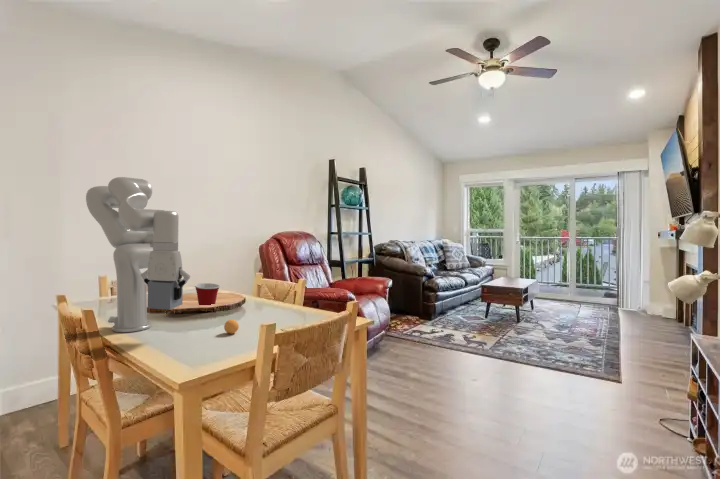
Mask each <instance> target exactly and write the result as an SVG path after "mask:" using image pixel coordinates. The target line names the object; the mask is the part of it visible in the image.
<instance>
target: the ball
mask: <svg viewBox="0 0 720 479" xmlns="http://www.w3.org/2000/svg"><path fill="white" fill-rule="evenodd" d="M223 328H224V331H225V332H226V333H227V334H231V335H232V334H236V332H237V331H238V330H239V328H240V325H239V322H238V321H237V320H236V319H228V320H227V321H225V323H224V326H223Z"/></svg>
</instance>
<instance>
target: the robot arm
mask: <svg viewBox="0 0 720 479" xmlns="http://www.w3.org/2000/svg"><path fill="white" fill-rule="evenodd" d="M152 195H153V186H152V185H151V183H150V182H149V181H148V180H146V179H143V178H135V177H126V176H118V177H114V178H112V179H111V180H110V181H109V182H108V184H107V185H98V186H93V187H90V188H89V189H88V190H87V192H86V194H85V202H86V207H87V209H88V211H89V213H90V215H91V216H92V218H94V220H95V221H96V222H97V223H98V224H99V226H100V227H101V229H102V231H103V233H104V235H105V236H106V238H107V241H108V242H109V244H110V246H112V247H113V248H114V251H113V254H112V255H113V256H112V257H113V261H114V268H115V273H116V307H117V309H116V314H117V315H116V316H109V318H108V321H107V323H109V324H110V323H114V325H113V326H112V328H111V329H112V331H113V332H115V333H131V332H140V331H145V330H147V329H150V328H151V327H152V325H153V324H152V322H151V321H148V282H150V281H164V282H174V285H175V287H176V288H175V289H174V300H178V299H180V298H181V296H182V287H183V288H184V286H185V284H186V283H187V282H188V281H189V279H190V278H191V275H190V274H189V273H187V272H186V271H185V270H183V261H182V255H181V251H179V214H178V212H176V211H174V210H165V209H150V208H149V209H145V208H146V207H147V205H148V203H149V202H148V201H149V200H150V199H151V198H152ZM116 209H118V210H116ZM142 269H143V270H144V269H147V270H144V272H141V270H142ZM182 278H183V280H182V281H181V280H180V279H182ZM177 281H178V282H177Z"/></svg>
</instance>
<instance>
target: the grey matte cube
mask: <svg viewBox="0 0 720 479" xmlns="http://www.w3.org/2000/svg"><path fill="white" fill-rule="evenodd" d="M183 279H184V278H183ZM183 279H182V278H181V279H180V280H181V281H182V280H183ZM177 282H178V281H177ZM175 288H176V287H175V285H174V282H164V281H150V282H148V286H147V309H155V310H157V309H158V310H169V311H170V310H172V309H173V310H174V308H177V307H179V306H182V305H183V297H184V296H183V295H184V294H183V293H184V292H183V290H184V289H183V288H184V286H183V287H182V296H181V298H180V299H178V300H174V289H175Z"/></svg>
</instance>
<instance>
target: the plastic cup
mask: <svg viewBox="0 0 720 479" xmlns="http://www.w3.org/2000/svg"><path fill="white" fill-rule="evenodd" d="M194 287H195V292H196V295H197V297H196V298H197V303H198V306H199V305H211V304H215V305H216V301H217V296H218V292H219V290H220V287H221V285H220V284H218V283H205V282H204V283H196V284H194Z"/></svg>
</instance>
